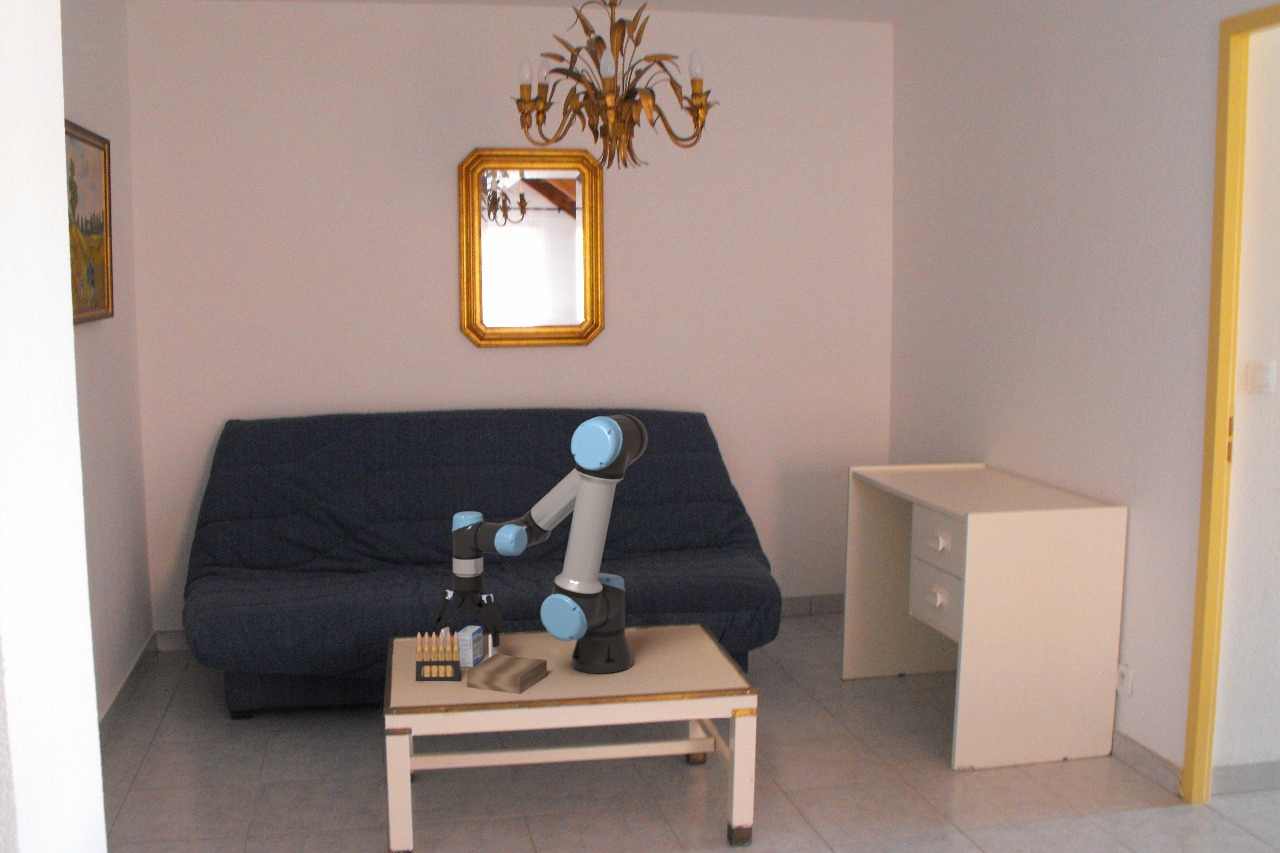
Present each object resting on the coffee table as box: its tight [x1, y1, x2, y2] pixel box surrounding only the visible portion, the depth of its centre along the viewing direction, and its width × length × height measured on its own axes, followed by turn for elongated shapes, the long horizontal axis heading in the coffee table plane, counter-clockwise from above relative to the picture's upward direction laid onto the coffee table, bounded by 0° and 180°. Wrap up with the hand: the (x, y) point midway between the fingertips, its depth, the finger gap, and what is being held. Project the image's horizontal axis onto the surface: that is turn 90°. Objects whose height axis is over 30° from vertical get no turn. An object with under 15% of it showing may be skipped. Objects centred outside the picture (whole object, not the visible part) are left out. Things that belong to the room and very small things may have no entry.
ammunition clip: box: [415, 630, 462, 683], centre depth 269 cm, size 11×2×12 cm, turn 92°
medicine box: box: [457, 625, 484, 669], centre depth 283 cm, size 8×4×9 cm, turn 168°
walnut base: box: [466, 654, 548, 695], centre depth 268 cm, size 14×14×4 cm
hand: (469, 656), depth 284 cm, fingers open, 13 cm apart
